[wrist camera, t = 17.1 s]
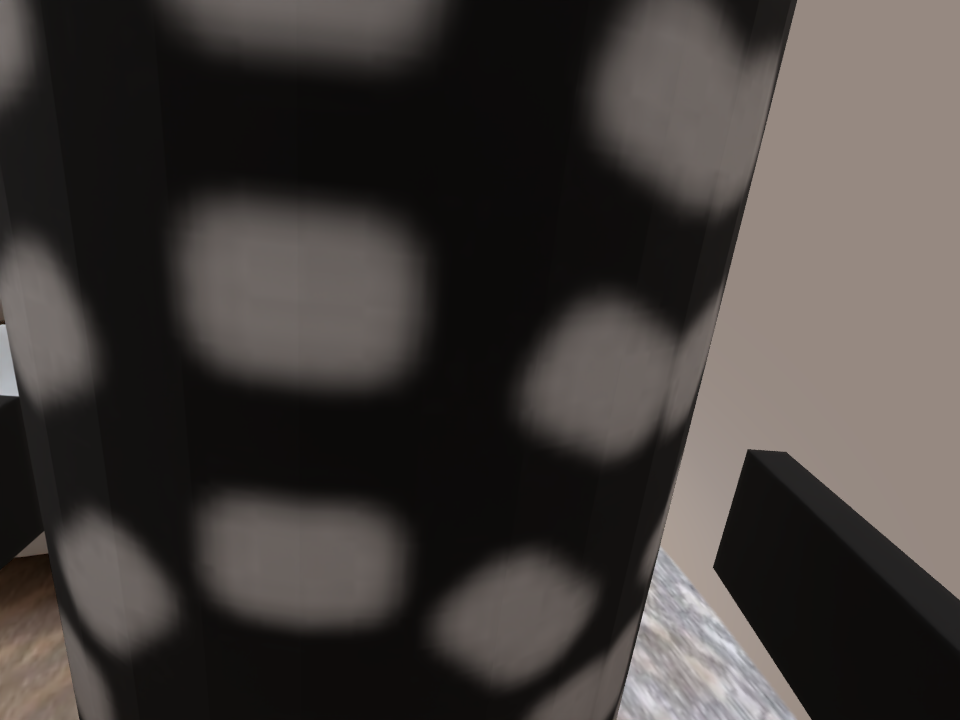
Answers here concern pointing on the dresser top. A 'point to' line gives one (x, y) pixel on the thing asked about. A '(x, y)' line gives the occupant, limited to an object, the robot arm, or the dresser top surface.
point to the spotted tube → (366, 336)
